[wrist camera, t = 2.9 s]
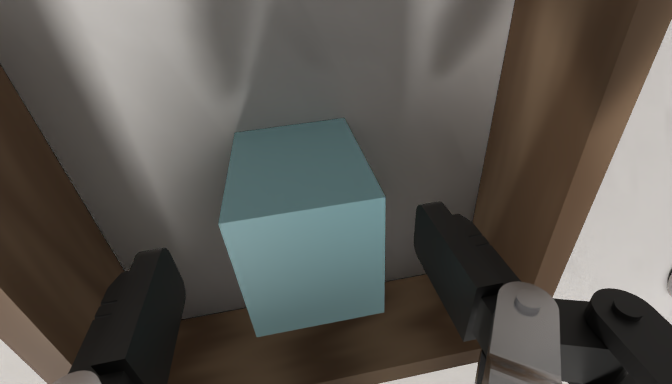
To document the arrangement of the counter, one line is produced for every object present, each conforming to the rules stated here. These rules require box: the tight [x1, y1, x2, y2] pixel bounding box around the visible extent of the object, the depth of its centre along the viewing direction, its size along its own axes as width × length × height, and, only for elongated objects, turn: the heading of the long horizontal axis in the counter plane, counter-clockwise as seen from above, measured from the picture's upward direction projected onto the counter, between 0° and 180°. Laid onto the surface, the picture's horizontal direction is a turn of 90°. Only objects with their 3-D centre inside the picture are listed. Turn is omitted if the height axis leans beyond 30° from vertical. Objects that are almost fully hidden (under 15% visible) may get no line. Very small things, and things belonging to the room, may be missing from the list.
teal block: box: [218, 118, 386, 337], centre depth 13 cm, size 4×5×6 cm
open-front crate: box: [0, 0, 672, 384], centre depth 14 cm, size 20×17×5 cm
